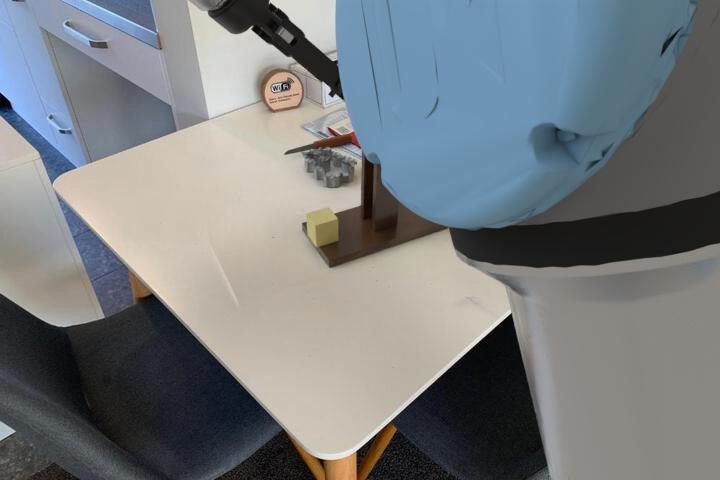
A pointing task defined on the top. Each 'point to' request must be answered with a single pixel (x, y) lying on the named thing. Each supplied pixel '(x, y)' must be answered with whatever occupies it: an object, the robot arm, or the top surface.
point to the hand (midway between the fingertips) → (347, 91)
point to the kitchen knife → (323, 144)
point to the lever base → (373, 222)
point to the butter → (322, 227)
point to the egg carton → (329, 166)
